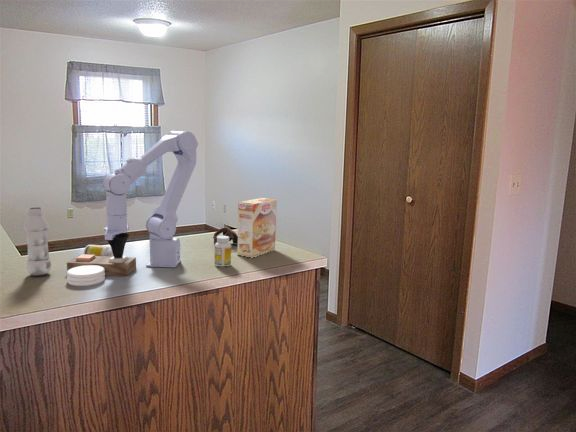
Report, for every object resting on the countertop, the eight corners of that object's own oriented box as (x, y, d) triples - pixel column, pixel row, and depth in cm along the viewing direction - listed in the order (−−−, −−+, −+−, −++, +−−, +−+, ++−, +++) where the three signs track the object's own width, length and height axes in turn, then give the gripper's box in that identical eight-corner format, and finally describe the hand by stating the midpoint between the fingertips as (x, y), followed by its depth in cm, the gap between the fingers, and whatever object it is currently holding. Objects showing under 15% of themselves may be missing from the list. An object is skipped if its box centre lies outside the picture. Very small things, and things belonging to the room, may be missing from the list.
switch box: (136, 268, 146) (135, 257, 146) (127, 276, 138) (126, 264, 138) (79, 266, 146) (78, 255, 146) (67, 273, 138) (66, 262, 138)
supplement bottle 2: (214, 267, 149) (214, 238, 148) (214, 263, 155) (214, 235, 153) (231, 267, 150) (231, 238, 149) (230, 262, 156) (230, 235, 154)
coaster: (94, 273, 140) (93, 262, 140) (111, 281, 134) (111, 269, 133) (61, 281, 133) (60, 269, 132) (77, 289, 126) (77, 277, 126)
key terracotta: (95, 264, 144) (95, 254, 143) (90, 267, 140) (89, 258, 139) (82, 263, 144) (82, 254, 143) (76, 267, 140) (76, 257, 139)
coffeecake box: (252, 259, 161) (253, 203, 157) (236, 255, 165) (237, 201, 161) (276, 250, 174) (277, 199, 170) (260, 247, 177) (261, 197, 174)
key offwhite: (127, 265, 144) (127, 255, 143) (122, 269, 140) (122, 259, 139) (114, 264, 144) (114, 255, 143) (109, 268, 140) (109, 259, 139)
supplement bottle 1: (84, 263, 151) (111, 265, 149) (81, 247, 149) (109, 250, 147) (94, 257, 156) (120, 259, 154) (92, 242, 154) (118, 244, 152)
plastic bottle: (35, 279, 132) (30, 211, 129) (22, 275, 136) (17, 208, 132) (56, 274, 138) (52, 208, 134) (43, 269, 141) (39, 205, 138)
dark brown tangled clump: (242, 250, 174) (232, 232, 171) (219, 260, 175) (209, 243, 171) (241, 235, 185) (232, 218, 182) (219, 244, 186) (210, 228, 182)
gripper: (112, 209, 146) (114, 251, 149) (93, 218, 132) (95, 263, 134) (135, 210, 146) (136, 251, 149) (117, 219, 132) (119, 264, 134)
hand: (118, 257), depth 141 cm, fingers closed, pressing on key offwhite
